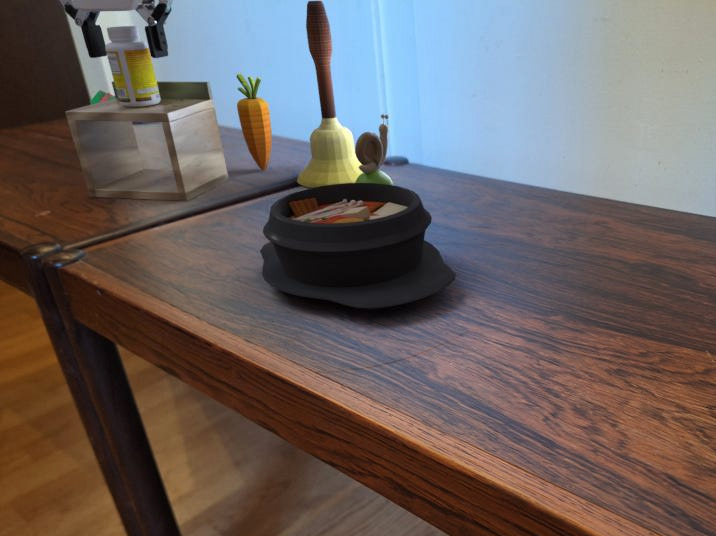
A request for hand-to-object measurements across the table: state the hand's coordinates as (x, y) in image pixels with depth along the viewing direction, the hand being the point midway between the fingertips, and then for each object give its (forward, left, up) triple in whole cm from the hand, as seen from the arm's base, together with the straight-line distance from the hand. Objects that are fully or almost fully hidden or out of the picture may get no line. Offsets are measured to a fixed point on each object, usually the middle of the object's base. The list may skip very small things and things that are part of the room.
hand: (129, 56), depth 98 cm
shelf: (0, 0, -19) cm, 19 cm away
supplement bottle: (0, 0, -7) cm, 7 cm away
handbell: (+25, +9, -19) cm, 33 cm away
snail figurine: (+37, -6, -19) cm, 42 cm away
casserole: (+43, -30, -19) cm, 55 cm away
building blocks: (-41, +49, -19) cm, 67 cm away
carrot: (+11, +12, -19) cm, 25 cm away
